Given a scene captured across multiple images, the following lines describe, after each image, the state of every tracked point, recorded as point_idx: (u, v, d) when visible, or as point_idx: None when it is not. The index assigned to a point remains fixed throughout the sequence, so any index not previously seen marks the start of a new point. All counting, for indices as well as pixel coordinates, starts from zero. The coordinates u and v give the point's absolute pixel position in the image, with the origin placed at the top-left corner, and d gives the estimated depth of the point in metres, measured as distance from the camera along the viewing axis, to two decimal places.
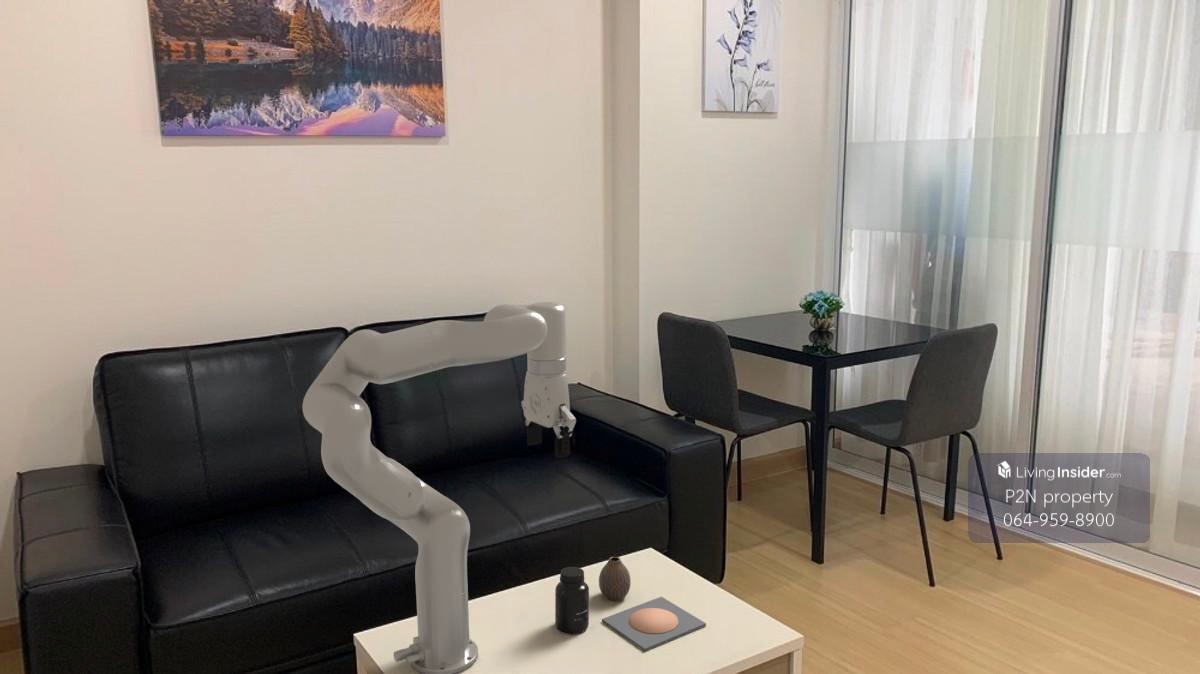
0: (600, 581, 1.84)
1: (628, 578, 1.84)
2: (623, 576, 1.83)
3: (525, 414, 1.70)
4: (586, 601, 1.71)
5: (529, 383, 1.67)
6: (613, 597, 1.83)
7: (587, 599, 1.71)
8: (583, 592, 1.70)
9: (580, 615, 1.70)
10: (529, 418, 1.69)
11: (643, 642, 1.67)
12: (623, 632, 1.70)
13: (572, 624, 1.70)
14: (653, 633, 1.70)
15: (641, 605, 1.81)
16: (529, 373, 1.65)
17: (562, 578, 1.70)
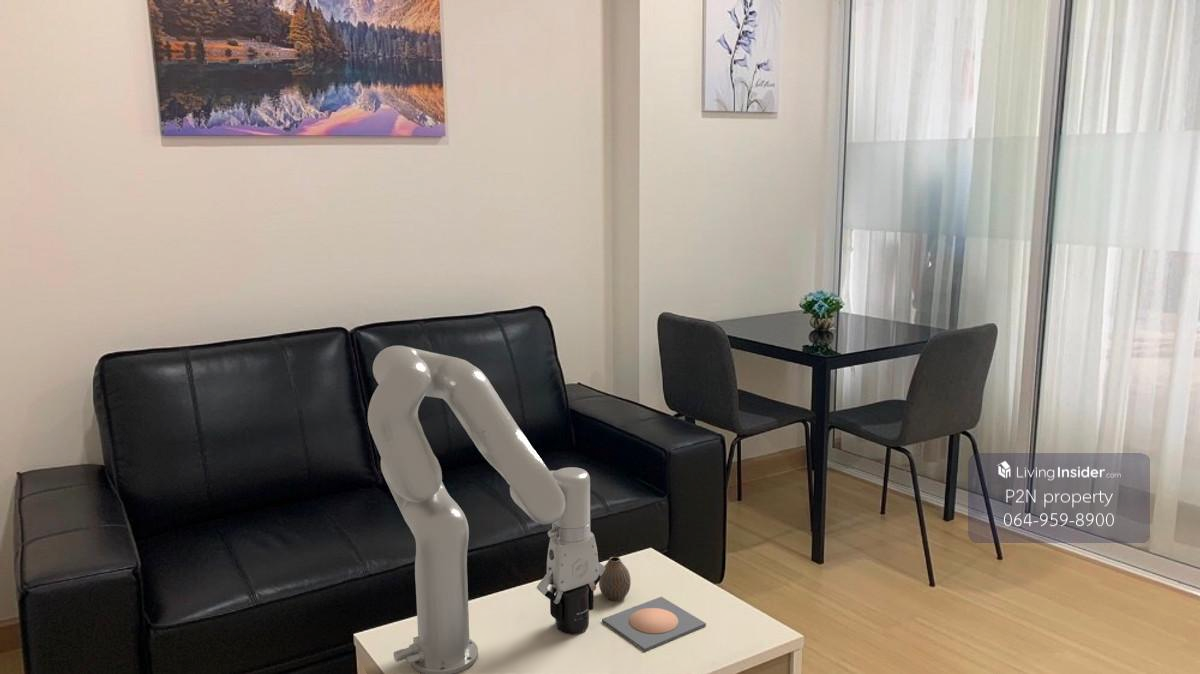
0: (600, 581, 1.84)
1: (628, 578, 1.84)
2: (623, 576, 1.83)
3: (563, 587, 1.67)
4: (586, 601, 1.71)
5: (570, 554, 1.67)
6: (613, 597, 1.83)
7: (587, 599, 1.71)
8: (583, 592, 1.70)
9: (580, 614, 1.70)
10: (570, 588, 1.68)
11: (643, 642, 1.67)
12: (623, 632, 1.70)
13: (572, 624, 1.70)
14: (653, 633, 1.70)
15: (641, 605, 1.81)
16: (579, 541, 1.67)
17: None
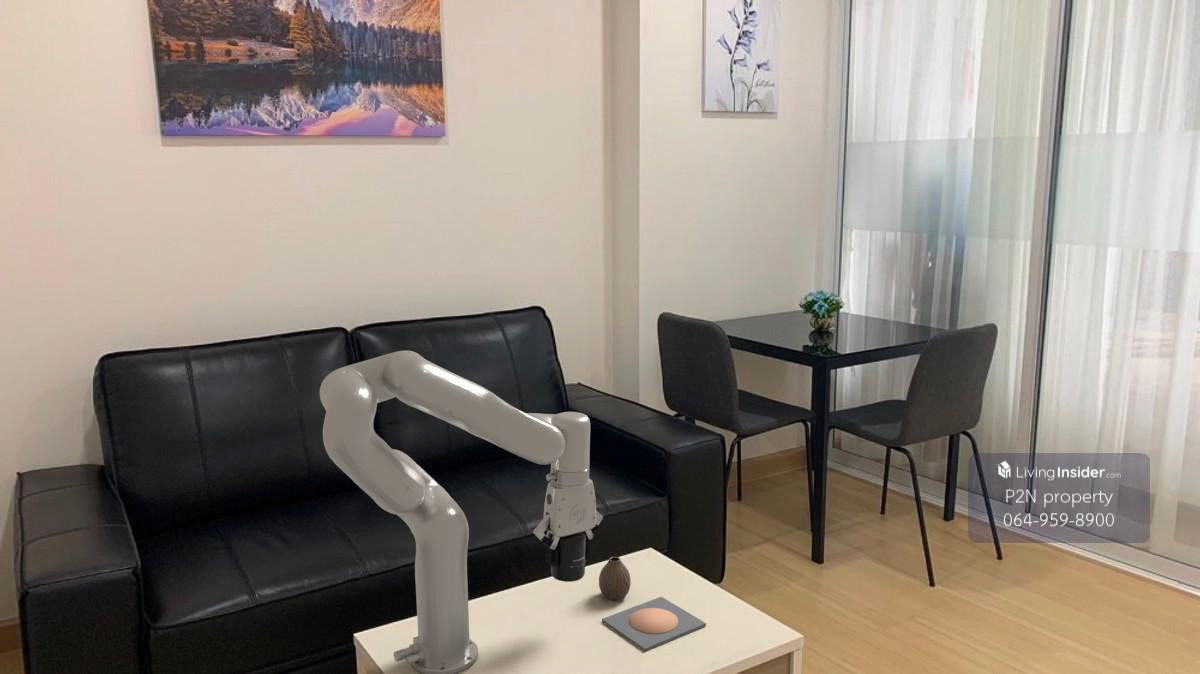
0: (600, 581, 1.84)
1: (628, 578, 1.84)
2: (623, 576, 1.83)
3: (560, 533, 1.65)
4: (582, 548, 1.68)
5: (568, 498, 1.65)
6: (613, 597, 1.83)
7: (584, 546, 1.69)
8: (580, 539, 1.68)
9: (576, 562, 1.68)
10: (567, 533, 1.66)
11: (643, 642, 1.67)
12: (623, 632, 1.70)
13: (568, 571, 1.67)
14: (653, 633, 1.70)
15: (641, 605, 1.81)
16: (578, 486, 1.65)
17: None
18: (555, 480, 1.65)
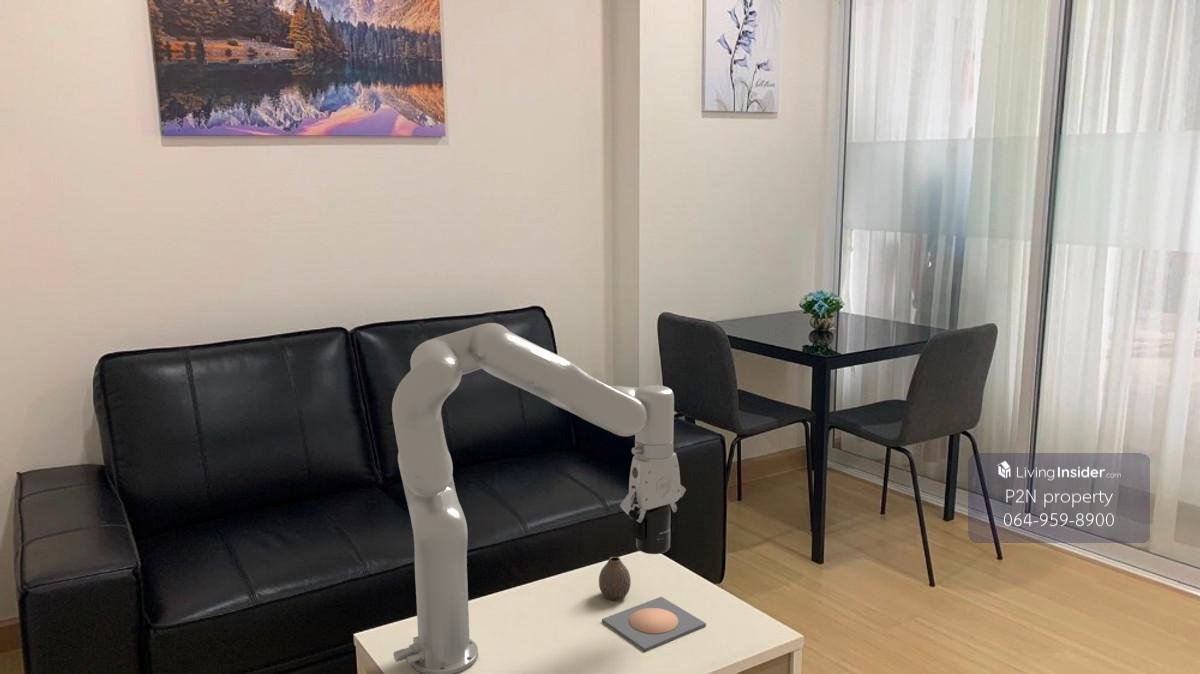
0: (600, 581, 1.84)
1: (628, 578, 1.84)
2: (623, 576, 1.83)
3: (647, 506, 1.65)
4: (668, 520, 1.69)
5: (654, 471, 1.65)
6: (613, 597, 1.83)
7: (669, 519, 1.69)
8: (666, 511, 1.68)
9: (663, 534, 1.68)
10: (653, 506, 1.66)
11: (643, 642, 1.67)
12: (623, 632, 1.70)
13: (654, 544, 1.68)
14: (653, 633, 1.70)
15: (641, 605, 1.81)
16: (664, 459, 1.65)
17: None
18: (641, 453, 1.65)
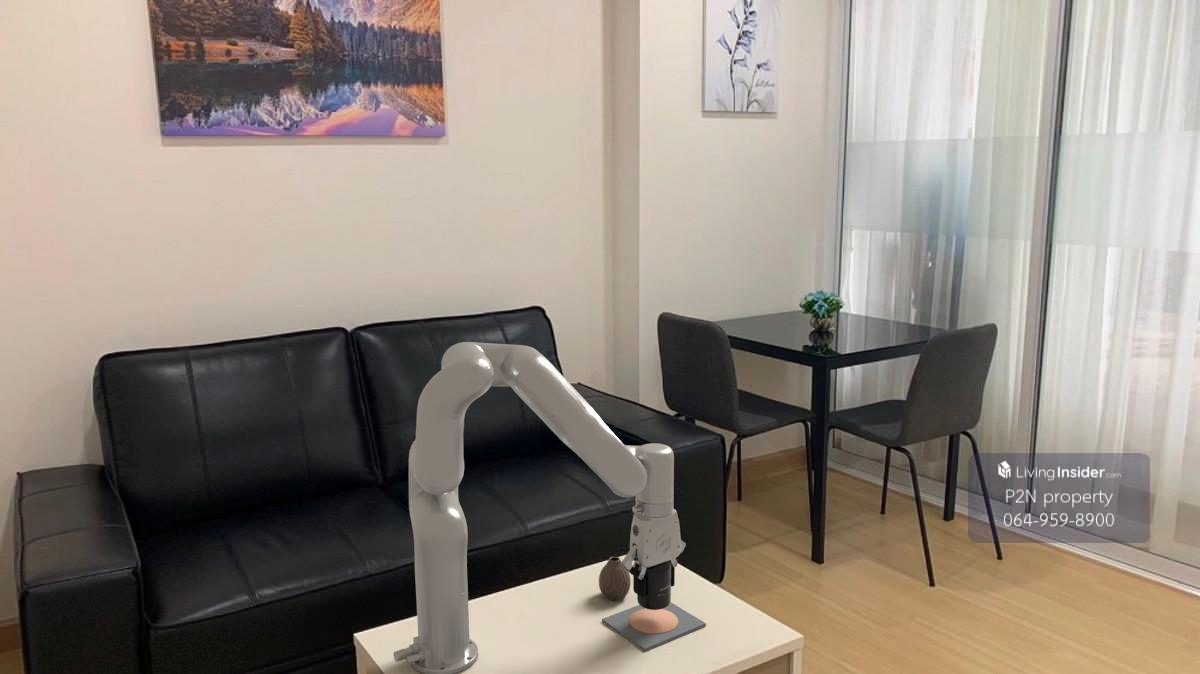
0: (600, 581, 1.84)
1: (628, 578, 1.84)
2: (623, 576, 1.83)
3: (648, 563, 1.67)
4: (669, 576, 1.71)
5: (654, 529, 1.67)
6: (613, 597, 1.83)
7: (670, 575, 1.71)
8: (666, 567, 1.70)
9: (664, 590, 1.70)
10: (654, 563, 1.68)
11: (643, 642, 1.67)
12: (623, 632, 1.70)
13: (655, 600, 1.70)
14: (653, 633, 1.70)
15: None
16: (664, 517, 1.67)
17: None
18: (641, 512, 1.67)
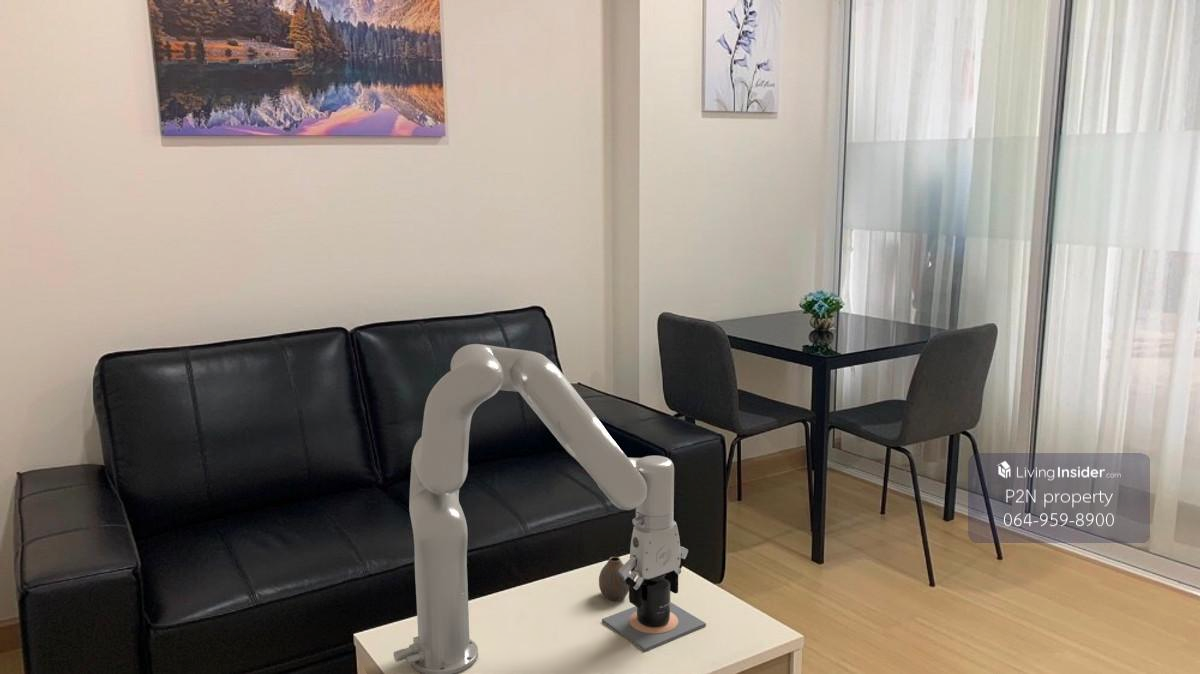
0: (600, 581, 1.84)
1: None
2: None
3: (648, 575, 1.68)
4: (668, 594, 1.72)
5: (654, 541, 1.68)
6: (613, 597, 1.83)
7: (669, 592, 1.72)
8: (666, 585, 1.71)
9: (663, 608, 1.71)
10: (654, 575, 1.69)
11: (643, 642, 1.67)
12: (623, 632, 1.70)
13: (655, 617, 1.71)
14: (653, 633, 1.70)
15: None
16: (664, 529, 1.67)
17: None
18: (641, 524, 1.68)
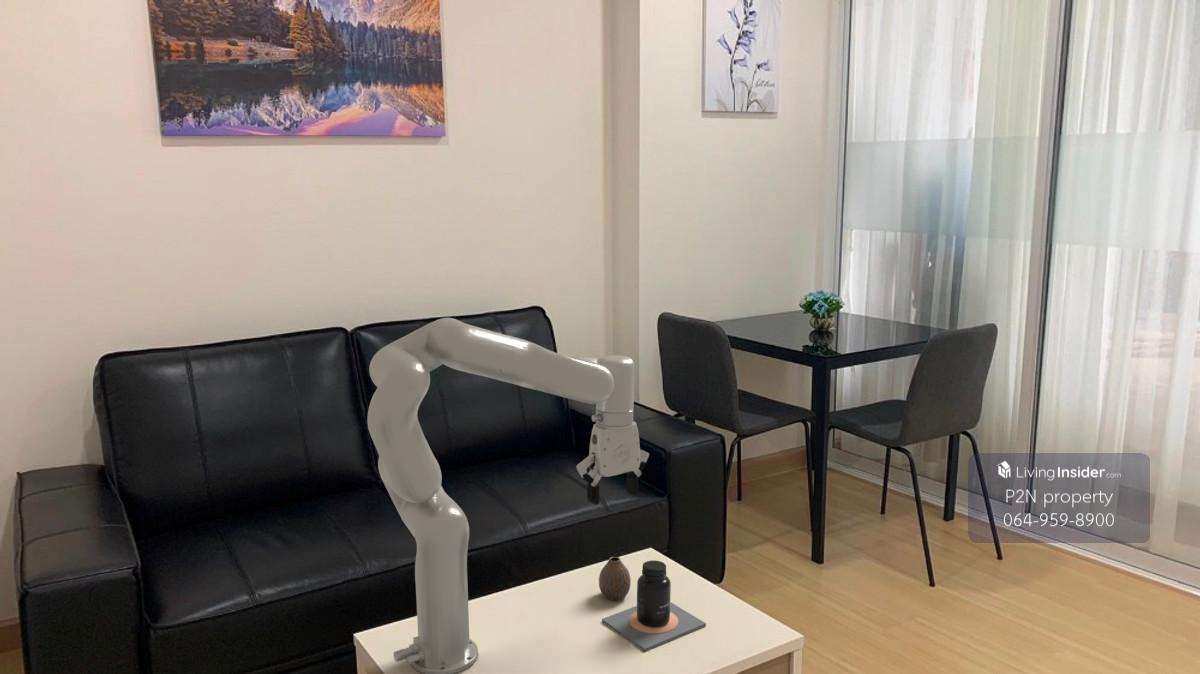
0: (600, 581, 1.84)
1: (628, 578, 1.84)
2: (623, 576, 1.83)
3: (605, 472, 1.69)
4: (668, 594, 1.72)
5: (613, 438, 1.69)
6: (613, 597, 1.83)
7: (669, 592, 1.72)
8: (666, 585, 1.71)
9: (663, 608, 1.71)
10: (612, 473, 1.70)
11: (643, 642, 1.67)
12: (623, 632, 1.70)
13: (655, 617, 1.71)
14: (653, 633, 1.70)
15: None
16: (622, 426, 1.69)
17: (645, 571, 1.71)
18: (600, 421, 1.69)
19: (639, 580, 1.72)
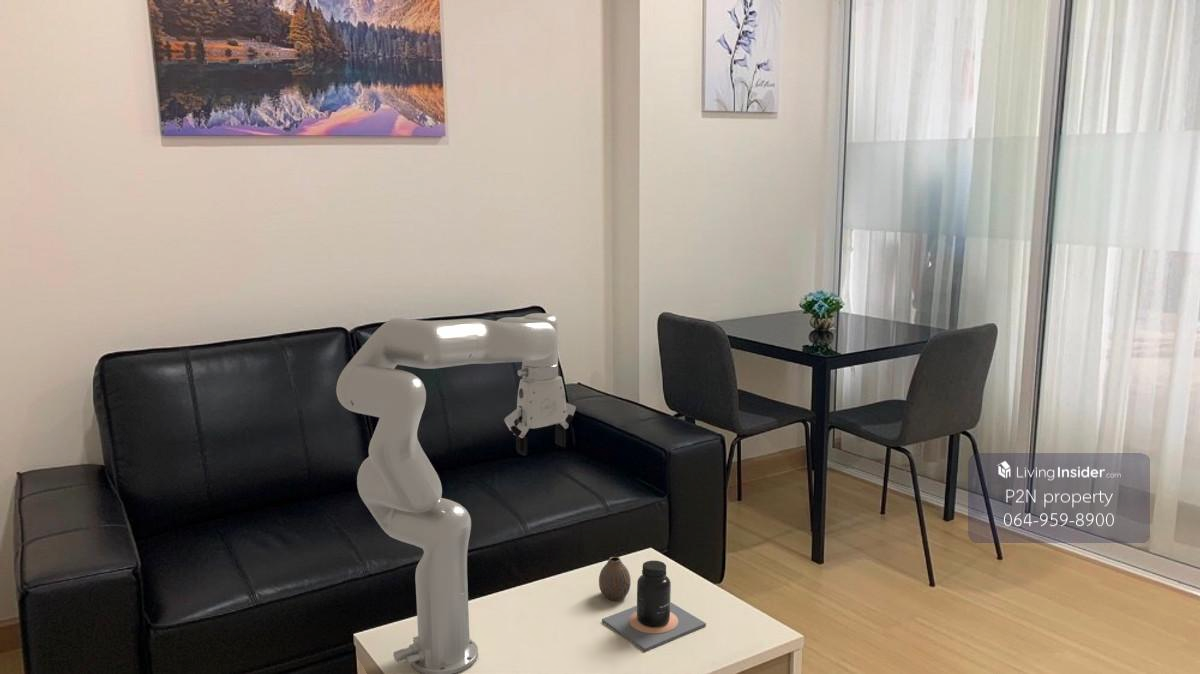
0: (600, 581, 1.84)
1: (628, 578, 1.84)
2: (623, 576, 1.83)
3: (532, 424, 1.78)
4: (668, 594, 1.72)
5: (538, 392, 1.78)
6: (613, 597, 1.83)
7: (669, 592, 1.72)
8: (666, 585, 1.71)
9: (663, 608, 1.71)
10: (538, 425, 1.79)
11: (643, 642, 1.67)
12: (623, 632, 1.70)
13: (655, 617, 1.71)
14: (653, 633, 1.70)
15: None
16: (547, 380, 1.77)
17: (645, 571, 1.71)
18: (526, 375, 1.77)
19: (639, 580, 1.72)
